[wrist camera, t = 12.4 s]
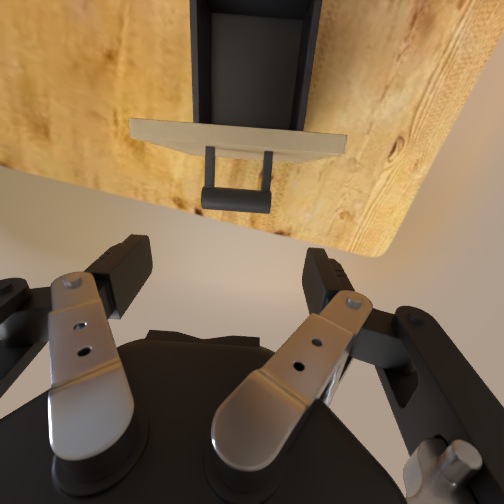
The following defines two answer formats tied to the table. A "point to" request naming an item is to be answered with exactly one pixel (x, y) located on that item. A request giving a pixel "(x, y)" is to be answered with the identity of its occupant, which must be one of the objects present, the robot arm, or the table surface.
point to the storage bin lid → (238, 154)
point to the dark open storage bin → (252, 61)
